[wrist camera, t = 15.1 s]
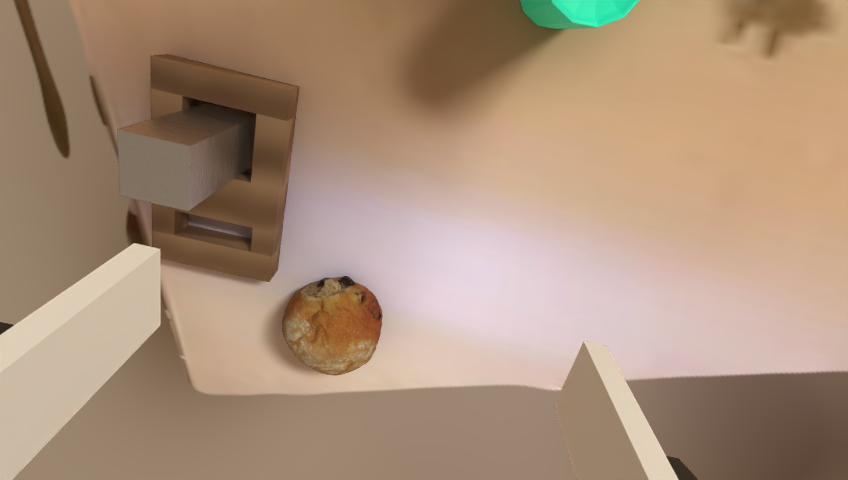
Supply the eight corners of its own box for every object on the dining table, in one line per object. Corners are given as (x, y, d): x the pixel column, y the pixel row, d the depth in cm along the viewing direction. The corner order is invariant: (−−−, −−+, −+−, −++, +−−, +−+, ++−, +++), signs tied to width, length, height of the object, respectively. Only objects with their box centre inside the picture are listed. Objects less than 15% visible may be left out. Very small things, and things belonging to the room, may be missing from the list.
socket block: (167, 54, 38) (150, 55, 36) (299, 86, 39) (290, 89, 37) (166, 245, 46) (152, 256, 43) (277, 269, 46) (269, 281, 44)
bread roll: (291, 297, 52) (256, 359, 47) (318, 250, 45) (280, 318, 39) (369, 336, 54) (344, 400, 48) (406, 297, 46) (382, 368, 41)
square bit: (205, 103, 40) (117, 129, 29) (257, 115, 40) (189, 146, 29) (204, 153, 42) (120, 195, 31) (253, 164, 42) (188, 211, 31)
